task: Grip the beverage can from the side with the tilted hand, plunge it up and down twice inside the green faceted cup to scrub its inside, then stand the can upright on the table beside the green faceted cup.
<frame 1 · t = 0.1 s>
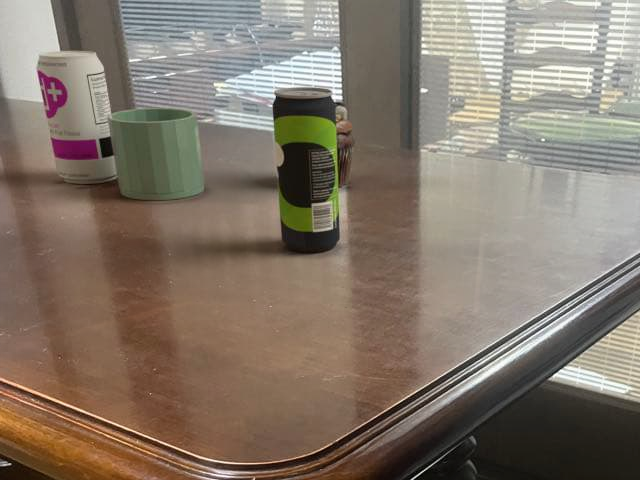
beverage can: (311, 247, 95), on the table
green faceted cup: (162, 190, 115), on the table
supplement can: (91, 179, 120), on the table
cupcake: (320, 184, 119), on the table
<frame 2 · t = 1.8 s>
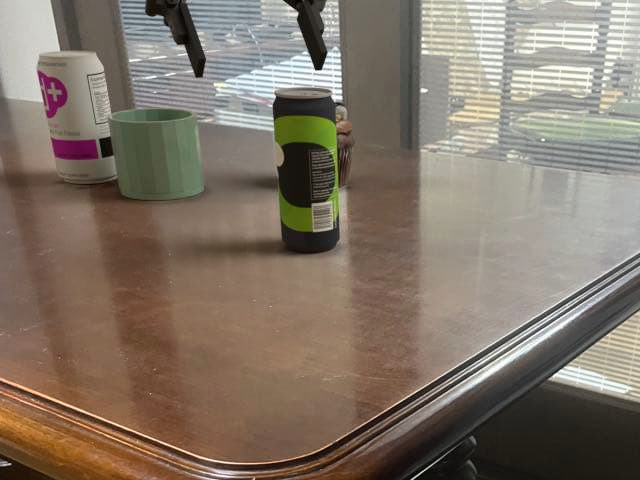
hand: (263, 65, 93), 16 cm above the table, tool tilted 45°, fingers open, 13 cm apart
nothing on the table moved.
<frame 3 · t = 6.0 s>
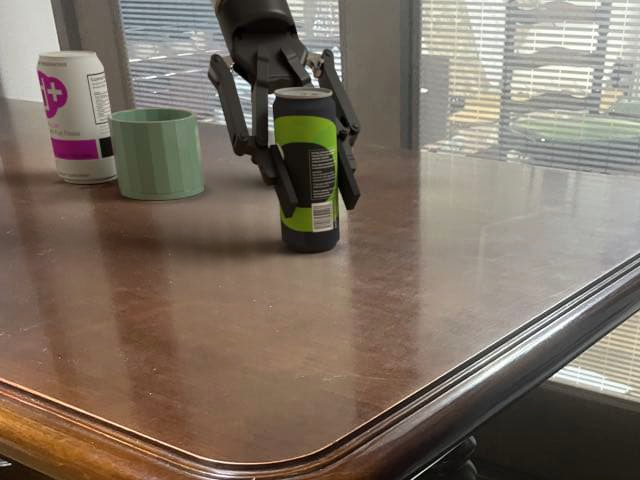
hand: (322, 206, 89), 5 cm above the table, tool tilted 45°, fingers closed on beverage can, 6 cm apart
beverage can: (311, 247, 95), on the table, touching gripper
everything else where it was.
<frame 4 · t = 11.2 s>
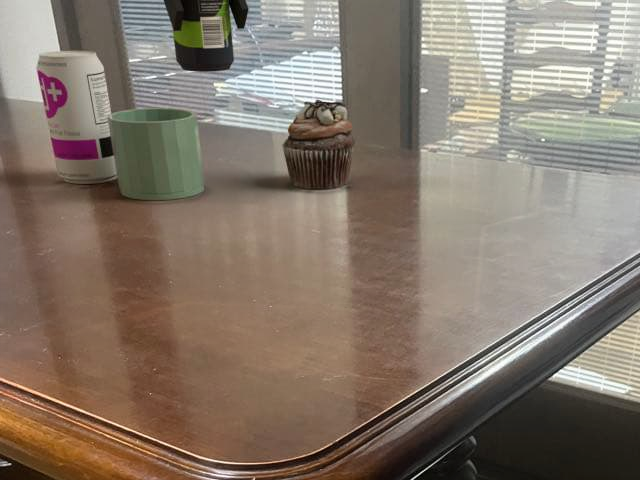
hand: (211, 19, 91), 20 cm above the table, tool tilted 45°, fingers closed on beverage can, 6 cm apart
beverage can: (206, 70, 97), point 15 cm above the table, touching gripper
everything else where it was.
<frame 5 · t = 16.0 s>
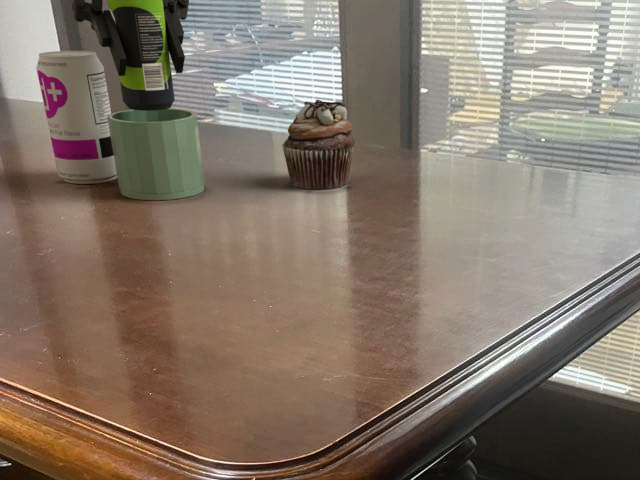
hand: (151, 65, 104), 15 cm above the table, tool tilted 45°, fingers closed on beverage can, 6 cm apart
beverage can: (150, 109, 109), point 10 cm above the table, touching gripper
everything else where it was.
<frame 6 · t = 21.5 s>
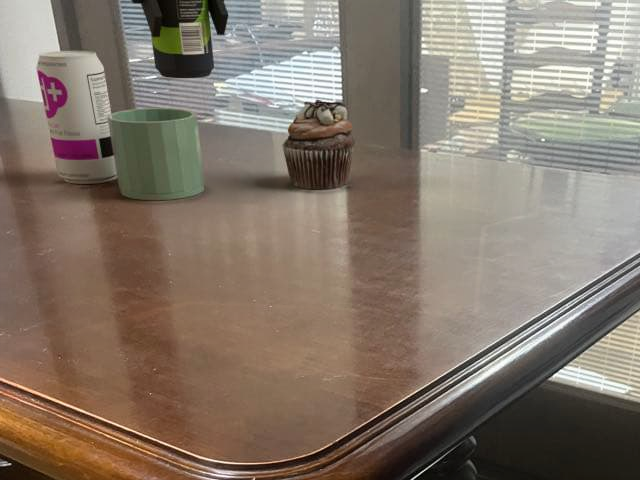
hand: (190, 25, 90), 20 cm above the table, tool tilted 45°, fingers closed on beverage can, 6 cm apart
beverage can: (186, 77, 95), point 15 cm above the table, touching gripper
everything else where it was.
when the fingers open (5 cm above the table, at t = 26.2 s): beverage can stays where it is, on the table.
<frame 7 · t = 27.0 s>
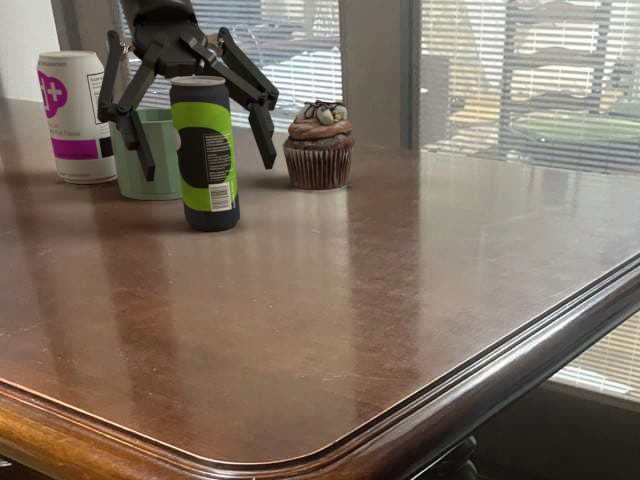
hand: (213, 168, 95), 7 cm above the table, tool tilted 45°, fingers open, 13 cm apart
beverage can: (214, 226, 101), on the table
everything else where it was.
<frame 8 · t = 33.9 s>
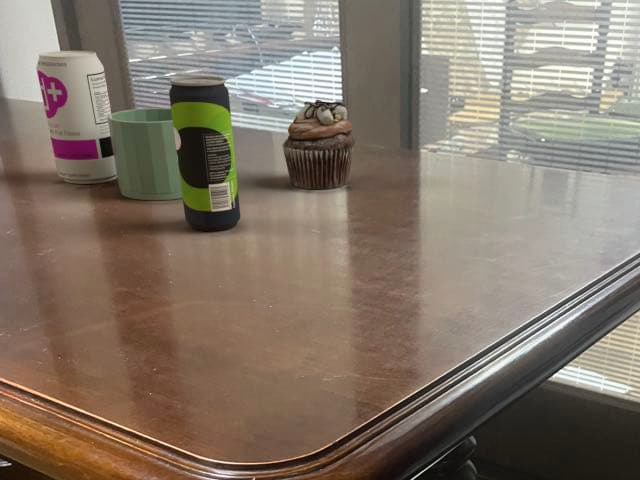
nothing on the table moved.
at the end: beverage can inside the target area on the table beside the green faceted cup (0.0 cm from its centre), on the table; beverage can tilted 0°; the gripper is holding nothing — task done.
